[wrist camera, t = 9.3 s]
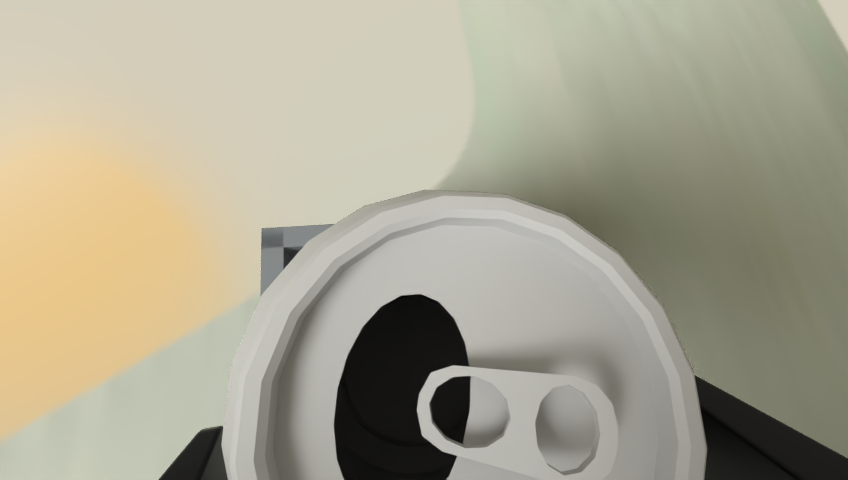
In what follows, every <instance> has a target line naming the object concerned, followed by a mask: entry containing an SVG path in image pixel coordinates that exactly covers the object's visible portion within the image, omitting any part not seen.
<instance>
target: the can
mask: <svg viewBox="0 0 848 480" xmlns="http://www.w3.org/2000/svg"><path fill="white" fill-rule="evenodd" d="M221 446H222V451H223V457H224V462H225V467H226V473H227V478H228V480H704V478H705V468H706V457H707V444H706V438H705V433H704V427H703V421H702V415H701V410H700V404H699V398H698V392H697V387H696V381H695V375H694V371H693V369H692V367H691V365H690V363H689V360H688V358H687V356H686V354H685V352H684V350H683V347H682V345H681V343H680V341H679V339H678V337H677V334H676V332H675V330H674V328H673V326H672V324H671V321H670V319H669V317H668V315H667V313H666V311H665V308H664V306H663V305H662V304H661V302H660V301H659V300H658V299H657V298H656V296H655V295H654V294H653V293H652V292H651V290H650V289H649V288H648V287H647V286H646V284H645V283H644V282H643V281H642V280H641V278H640V277H639V276H638V275H637V273H636V272H635V271H634V270H633V269H632V267H631V266H630V265H629V264H628V263H627V261H626V260H625V259H624V258H623V257H622V255H621V254H620V253H619V252H618V251H616V250H615V249H613V248H612V247H611V246H609V245H608V244H606V243H605V242H603V241H602V240H601V239H599V238H598V237H596V236H595V235H593V234H592V233H591V232H589V231H588V230H586V229H585V228H583V227H582V226H581V225H579V224H578V223H576V222H575V221H573V220H572V219H571V218H569V217H568V216H566V215H564V214H561V213H559V212H556V211H553V210H550V209H547V208H544V207H541V206H538V205H535V204H532V203H529V202H526V201H524V200H521V199H518V198H515V197H512V196H509V195H506V194H490V193H486V192H467V191H441V190H422V191H419V192H415V193H411V194H407V195H403V196H400V197H396V198H393V199H388V200H385V201H381V202H377V203H374V204H370V205H366V206H363V207H362V208H360V209H359V210H357V211H355V212H354V213H352V214H350V215H349V216H348V217H346V218H344V219H343V220H341V221H339V222H338V223H336V224H335V225H333V226H331V227H330V228H328V229H327V230H325V231H323V232H322V233H320V234H319V235H317V236H315V237H314V238H312V239H311V240H309V241H308V242H307V243H306V244H305V245H304V247H303V248H302V249H301V250H300V251H299V252H298V253H297V255H296V256H295V257H294V258H293V259H292V260H291V262H290V263H289V264H288V265H287V266H286V267H285V268H284V270H283V271H282V272H281V273H280V274H279V275H278V277H277V278H276V279H275V280H274V281H273V282H272V283H271V285H270V286H269V287H268V288H267V289H266V290H265V292H264V293H263V294H262V296H261V298H260V300H259V302H258V305H257V307H256V309H255V311H254V314H253V316H252V318H251V320H250V323H249V325H248V327H247V329H246V332H245V334H244V336H243V338H242V341H241V343H240V345H239V347H238V350H237V352H236V354H235V356H234V359H233V361H232V363H231V369H230V378H229V386H228V394H227V402H226V410H225V419H224V427H223V435H222V443H221Z"/></svg>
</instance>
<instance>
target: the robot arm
mask: <svg viewBox="0 0 848 480" xmlns="http://www.w3.org/2000/svg"><path fill="white" fill-rule="evenodd" d="M695 381H696V387H697V392H698V398H699V404H700V410H701V415H702V421H703V427H704V433H705V438H706V444H707V457H706V468H705V478H704V480H848V458H846V457H844V456H842V455H840V454H839V453H837V452H835V451H833V450H831V449H829V448H828V447H826V446H824V445H822V444H820V443H818V442H816V441H815V440H813V439H811V438H809V437H807V436H805V435H804V434H802V433H800V432H798V431H796V430H794V429H793V428H791V427H789V426H787V425H785V424H783V423H782V422H780V421H778V420H776V419H774V418H772V417H771V416H769V415H767V414H765V413H763V412H761V411H760V410H758V409H756V408H754V407H752V406H750V405H749V404H747V403H745V402H743V401H741V400H739V399H737V398H736V397H734V396H732V395H730V394H728V393H726V392H725V391H723V390H721V389H719V388H717V387H715V386H714V385H712V384H710V383H708V382H706V381H704V380H703V379H701V378H699V377H697V376H695ZM222 435H223V426H217V427H211V428H205V429H203V430H201V431H200V432H198V433H197V434H196V436H195V437H194V438H193V439H192V440H191V442H190V443H189V444H188V445H187V446H186V448H185V449H184V450H183V451H182V452H181V453H180V455H179V456H178V457H177V458H176V459H175V461H174V462H173V463H172V464H171V465H170V467H169V468H168V469H167V470H166V471H165V473H164V474H163V475H162V476H161V477H160V478H159V480H228V478H227V473H226V467H225V462H224V457H223V451H222V446H221V443H222Z"/></svg>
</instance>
